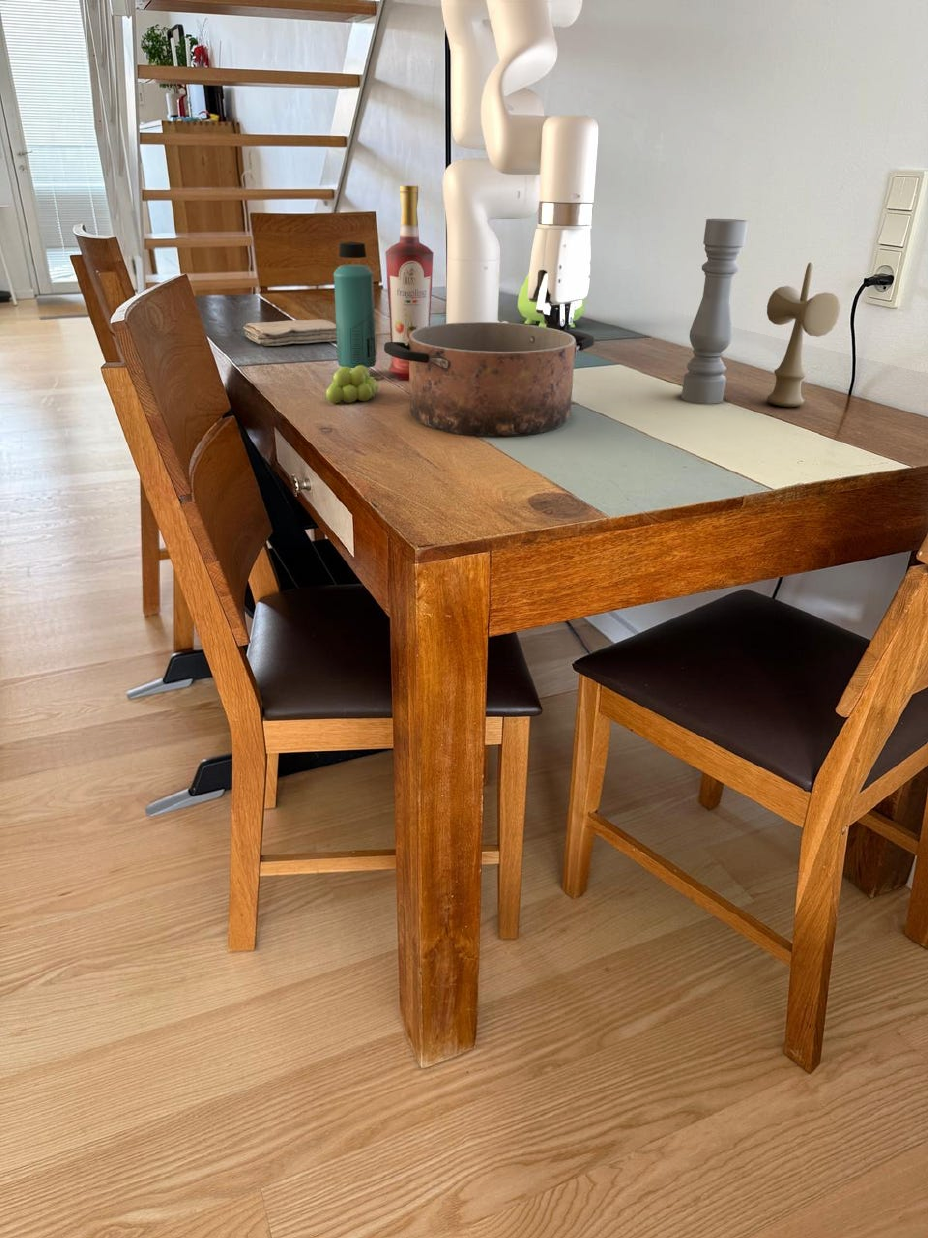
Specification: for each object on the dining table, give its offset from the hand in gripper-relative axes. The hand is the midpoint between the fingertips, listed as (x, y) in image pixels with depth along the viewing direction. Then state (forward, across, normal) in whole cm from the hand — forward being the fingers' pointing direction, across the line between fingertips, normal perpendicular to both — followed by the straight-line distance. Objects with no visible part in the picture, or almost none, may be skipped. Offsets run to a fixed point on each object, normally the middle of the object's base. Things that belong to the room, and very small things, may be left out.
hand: (556, 351), depth 136 cm
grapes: (+7, +20, -22) cm, 31 cm away
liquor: (+7, +4, -25) cm, 26 cm away
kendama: (+7, -19, +29) cm, 35 cm away
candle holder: (+7, -14, +18) cm, 24 cm away
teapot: (+6, -55, -35) cm, 65 cm away
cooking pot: (+7, +15, -1) cm, 17 cm away
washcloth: (+6, -6, -62) cm, 62 cm away
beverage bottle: (+7, +8, -33) cm, 34 cm away
